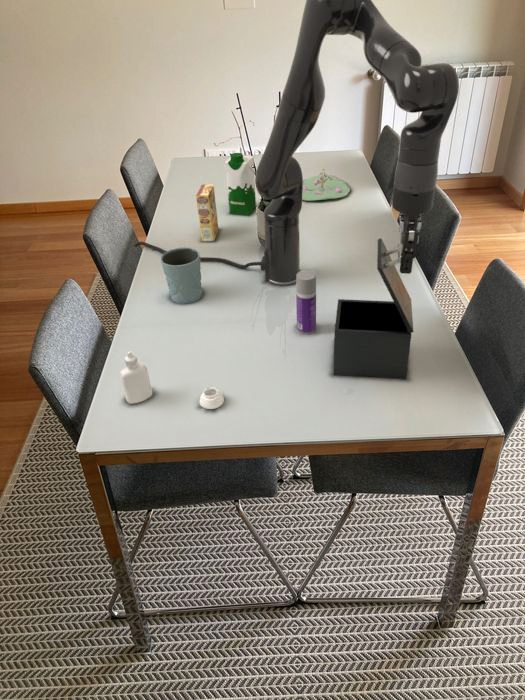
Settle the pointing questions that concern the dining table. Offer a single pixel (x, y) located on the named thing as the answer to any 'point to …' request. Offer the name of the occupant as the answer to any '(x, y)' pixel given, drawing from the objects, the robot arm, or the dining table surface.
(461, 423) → the dining table surface
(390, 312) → the bin
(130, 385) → the eye dropper bottle
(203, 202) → the candy box
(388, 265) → the bin lid
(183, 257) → the grey-green cup
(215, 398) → the lidless jar
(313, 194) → the plant
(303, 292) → the container
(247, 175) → the milk carton
